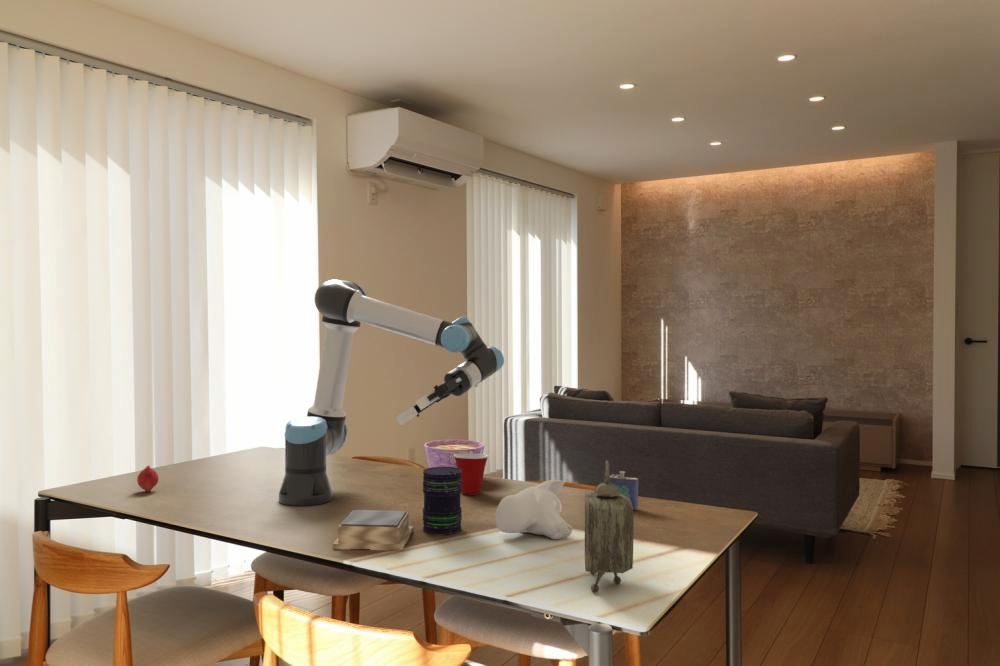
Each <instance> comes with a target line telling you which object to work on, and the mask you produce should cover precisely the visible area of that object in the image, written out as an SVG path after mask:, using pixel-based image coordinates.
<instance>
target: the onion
mask: <svg viewBox="0 0 1000 666" xmlns="http://www.w3.org/2000/svg"><path fill="white" fill-rule="evenodd" d="M136 481H137V485H138V487H140V488H141V489H142V490H144V491H145V492H151V490H153V489H154V488H155V486H156V485H158V483H159V475H158V472H157V471H156V470H154V469H153V468H151V466H150V464H148V465H147V466H146V467H144V468H143V469H142V470H141V471H140V472H139V474H138V475H137V479H136Z"/></svg>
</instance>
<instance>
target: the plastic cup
mask: <svg viewBox="0 0 1000 666" xmlns="http://www.w3.org/2000/svg"><path fill="white" fill-rule="evenodd" d="M454 457H455V460H456V465H457V468H459V469H461V471H462V472H461V480H462V486H461V487H462V492H461V494H462V495H464V494H467V495H466V496H475V495H474V494H477V495H479V494H478V493H480V494H481V491H482V490H481V489H482V483H483V480H484V474H485V468H486V465H487V464H486V463H487V460H488V458H489V455H488V454H485V453H483V454H455V455H454Z"/></svg>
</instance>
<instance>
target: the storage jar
mask: <svg viewBox="0 0 1000 666" xmlns="http://www.w3.org/2000/svg"><path fill="white" fill-rule="evenodd" d="M422 471H423V472H422V474H423V475H422V476H423V479H422V493H423V508H422V521H423V522H422V524H423V527H422V532H424V531H425V532H427V533H426V534H428V533H430V534H429V535H432V534H436V535H435V536H446V535H445V534H450V535H454V533H455V534H457V533H460V532H461V531H462V526H461V525H462V519H463V515H462V511H463V510H462V507H461V494H462V493H461V492H462V487H461V486H462V480H461V472H462V471H461V469H459V468H454V467H433V468H429V467H428V468H425V469H423V470H422ZM425 532H424V533H425Z"/></svg>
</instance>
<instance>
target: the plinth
mask: <svg viewBox="0 0 1000 666" xmlns="http://www.w3.org/2000/svg"><path fill="white" fill-rule="evenodd" d="M409 515H410V514H409V511H407V510H386V509H385V510H383V509H382V510H379V509H377V510H376V509H375V510H374V509H373V510H372V509H354V510H351V512H350V513H349V515H347V516H346V517H345V519H344V520H342V522H341V523H340V524H339V525H338V527H337V528H338V530H337V531H338V533H337V536H338V537H337V539H335V541H334V542H333V543H332V550H350V549H370V550H369V551H390V550H402V551H403V550H404V548H405V546H406V545H407V542H408V541H409V539H410V537H411V536H410V535H412V534H413V532H414V526H413V525H412V526H411V525H409V518H410V517H409ZM411 533H412V534H411ZM405 544H406V545H405Z"/></svg>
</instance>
